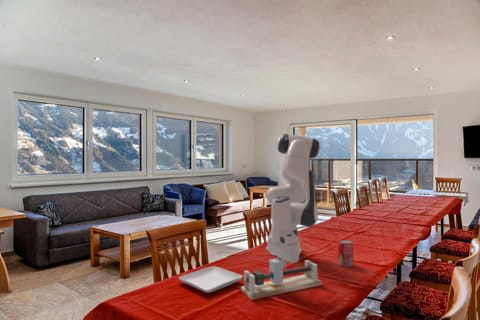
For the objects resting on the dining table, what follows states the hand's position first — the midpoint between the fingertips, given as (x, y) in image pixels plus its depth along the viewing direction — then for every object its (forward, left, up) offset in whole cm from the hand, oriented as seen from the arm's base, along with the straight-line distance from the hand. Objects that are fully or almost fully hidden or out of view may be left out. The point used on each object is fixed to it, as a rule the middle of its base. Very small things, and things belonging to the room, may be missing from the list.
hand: (282, 267), depth 139 cm
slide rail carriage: (0, -3, -6) cm, 6 cm away
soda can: (-10, +44, -9) cm, 46 cm away
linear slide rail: (0, 0, -9) cm, 9 cm away
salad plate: (-18, -26, -9) cm, 33 cm away
